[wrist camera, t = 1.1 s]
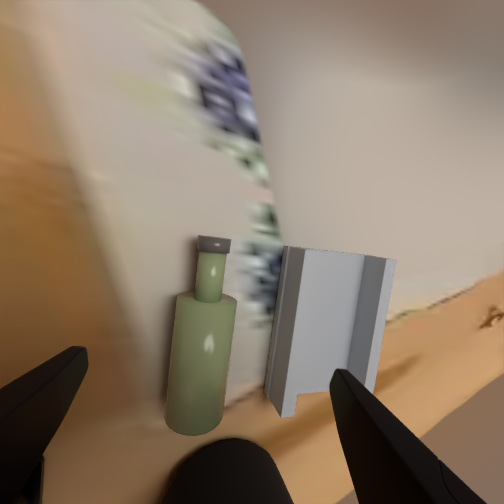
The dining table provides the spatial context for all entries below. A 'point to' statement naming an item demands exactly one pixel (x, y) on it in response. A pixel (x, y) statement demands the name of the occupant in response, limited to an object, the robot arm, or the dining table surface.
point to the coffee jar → (229, 476)
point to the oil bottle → (201, 345)
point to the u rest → (326, 322)
